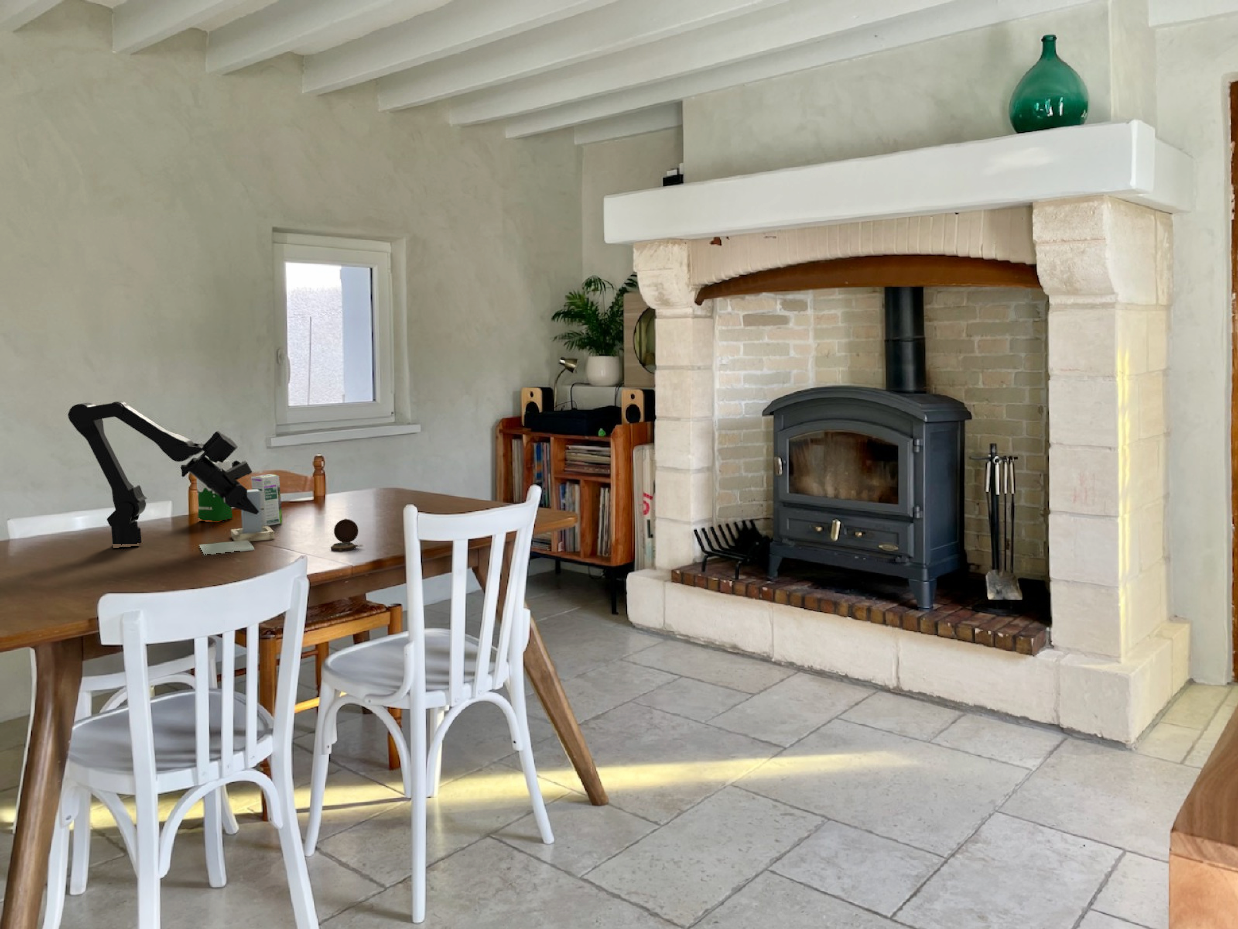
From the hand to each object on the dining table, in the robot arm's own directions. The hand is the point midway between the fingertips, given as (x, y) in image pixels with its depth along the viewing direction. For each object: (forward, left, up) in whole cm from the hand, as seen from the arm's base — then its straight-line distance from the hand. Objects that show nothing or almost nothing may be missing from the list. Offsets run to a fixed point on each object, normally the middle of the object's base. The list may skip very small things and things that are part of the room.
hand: (256, 511), depth 273 cm
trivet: (-9, -12, -7) cm, 17 cm away
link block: (-1, 0, -7) cm, 7 cm away
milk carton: (-7, +36, -7) cm, 37 cm away
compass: (+18, -29, -7) cm, 35 cm away
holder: (-1, 0, -7) cm, 7 cm away
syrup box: (+6, +20, -7) cm, 22 cm away
